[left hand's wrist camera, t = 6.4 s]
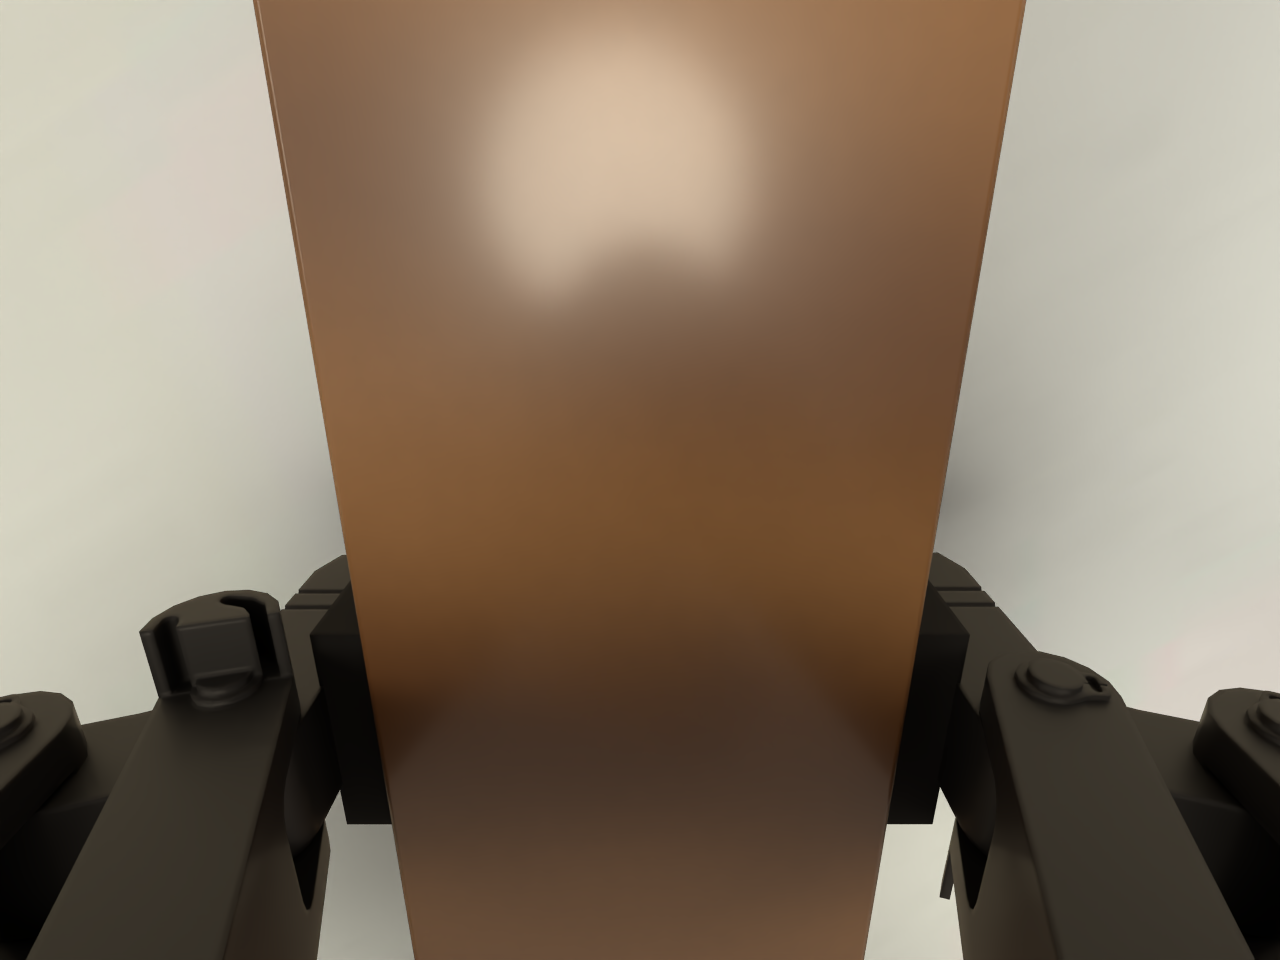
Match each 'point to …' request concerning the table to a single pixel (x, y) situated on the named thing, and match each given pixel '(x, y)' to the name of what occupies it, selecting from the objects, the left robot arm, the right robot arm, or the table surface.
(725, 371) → the post
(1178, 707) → the table surface
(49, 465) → the table surface
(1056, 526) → the table surface
